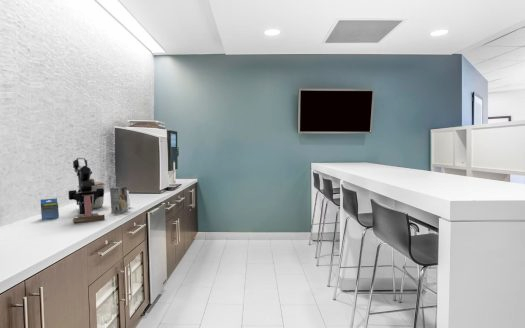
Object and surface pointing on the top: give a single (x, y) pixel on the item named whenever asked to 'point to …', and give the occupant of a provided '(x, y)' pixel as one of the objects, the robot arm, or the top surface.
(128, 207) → the cylinder with rectangular tab
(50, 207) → the label tape cartridge
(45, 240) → the top surface
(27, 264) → the top surface
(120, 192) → the coffee box
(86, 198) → the dusty red block
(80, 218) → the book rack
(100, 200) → the canister
